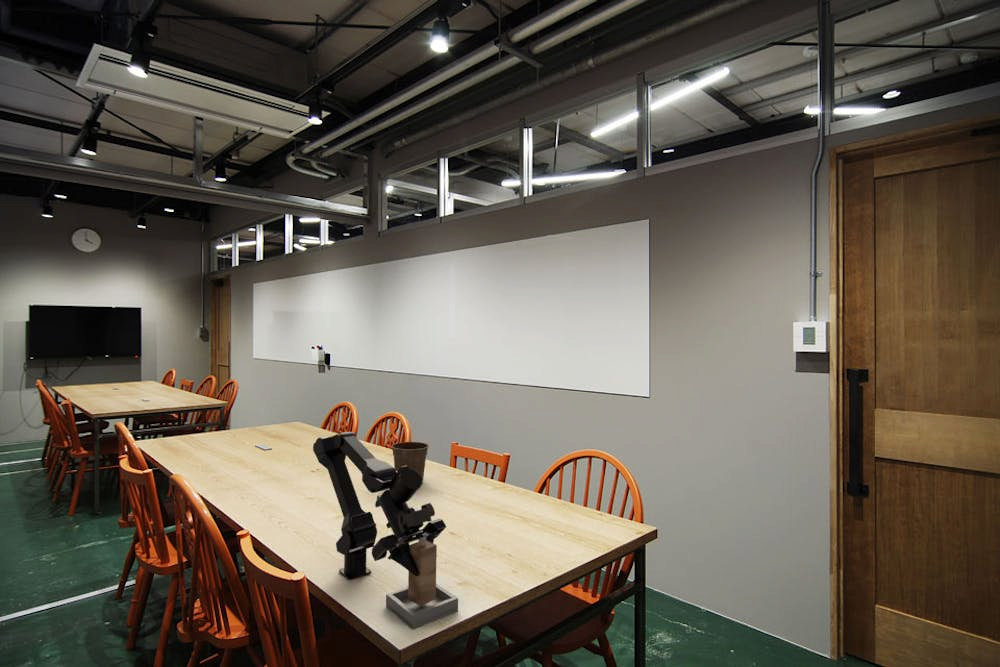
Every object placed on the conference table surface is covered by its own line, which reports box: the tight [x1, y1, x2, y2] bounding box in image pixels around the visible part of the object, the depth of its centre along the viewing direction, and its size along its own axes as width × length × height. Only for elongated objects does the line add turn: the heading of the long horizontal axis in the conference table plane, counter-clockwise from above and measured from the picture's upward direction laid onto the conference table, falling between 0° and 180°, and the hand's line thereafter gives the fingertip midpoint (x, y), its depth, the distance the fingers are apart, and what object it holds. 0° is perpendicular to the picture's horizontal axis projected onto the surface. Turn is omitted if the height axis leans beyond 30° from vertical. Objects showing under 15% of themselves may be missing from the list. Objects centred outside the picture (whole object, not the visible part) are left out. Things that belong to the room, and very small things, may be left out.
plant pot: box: [390, 441, 430, 482], centre depth 223 cm, size 16×16×16 cm
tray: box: [385, 583, 459, 631], centre depth 118 cm, size 12×12×3 cm
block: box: [407, 537, 438, 606], centre depth 118 cm, size 4×4×14 cm
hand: (426, 571), depth 117 cm, fingers open, 5 cm apart
